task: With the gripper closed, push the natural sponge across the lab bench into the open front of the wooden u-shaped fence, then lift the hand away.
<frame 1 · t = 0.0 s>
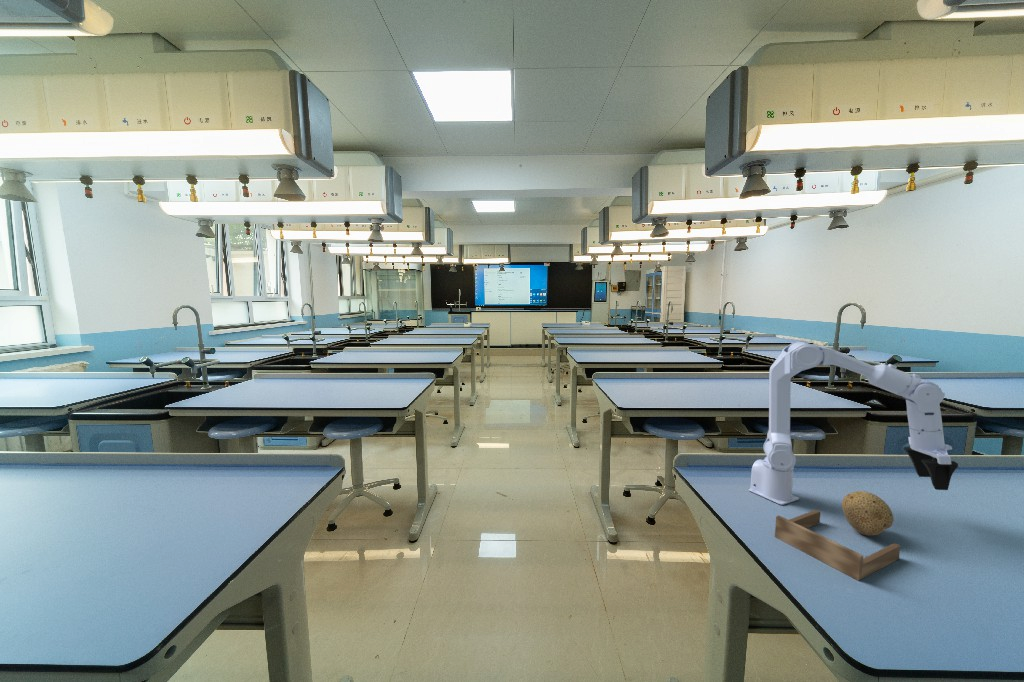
hand: (932, 482, 96), 11 cm above the lab bench, tool pointing down, fingers open, 7 cm apart
natural sponge: (865, 534, 93), on the lab bench
wooden u-shaped fence: (835, 546, 87), on the lab bench
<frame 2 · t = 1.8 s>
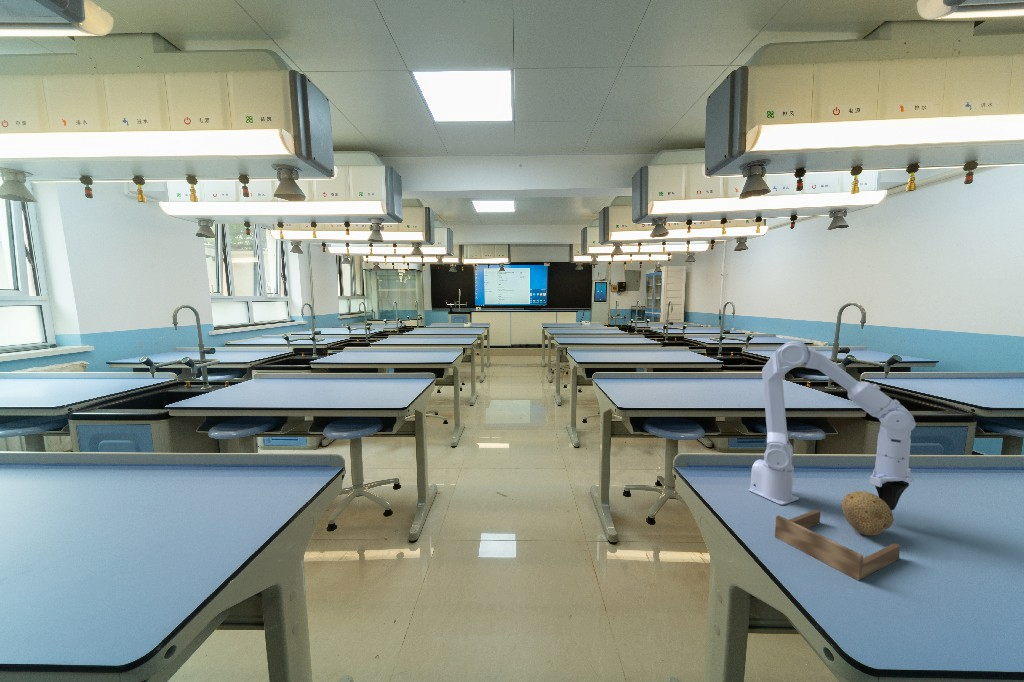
hand: (887, 508, 96), 4 cm above the lab bench, tool pointing down, fingers closed
nothing on the lab bench moved.
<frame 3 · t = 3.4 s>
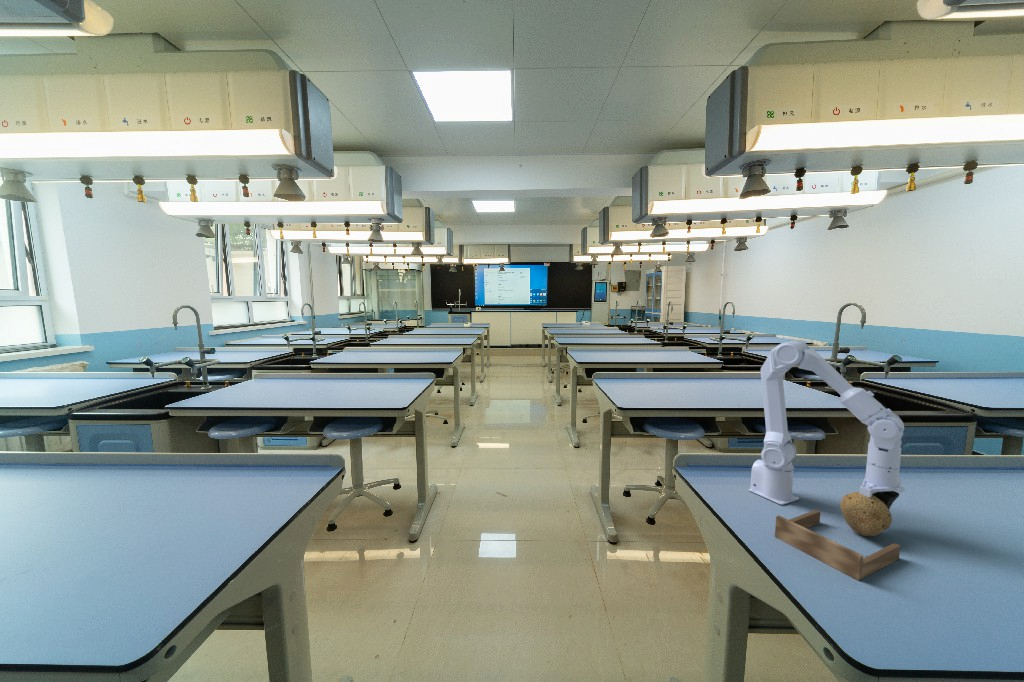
hand: (877, 518, 95), 2 cm above the lab bench, tool pointing down, fingers closed
natural sponge: (863, 534, 92), on the lab bench, touching gripper
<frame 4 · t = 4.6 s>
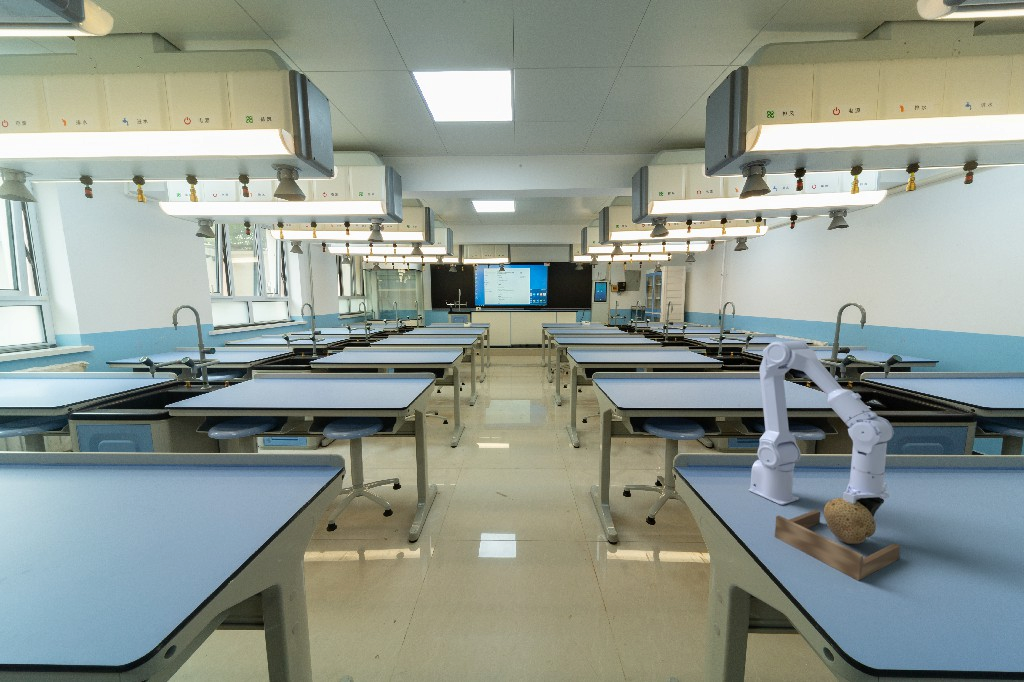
hand: (862, 525, 92), 2 cm above the lab bench, tool pointing down, fingers closed
natural sponge: (847, 542, 89), on the lab bench, touching gripper
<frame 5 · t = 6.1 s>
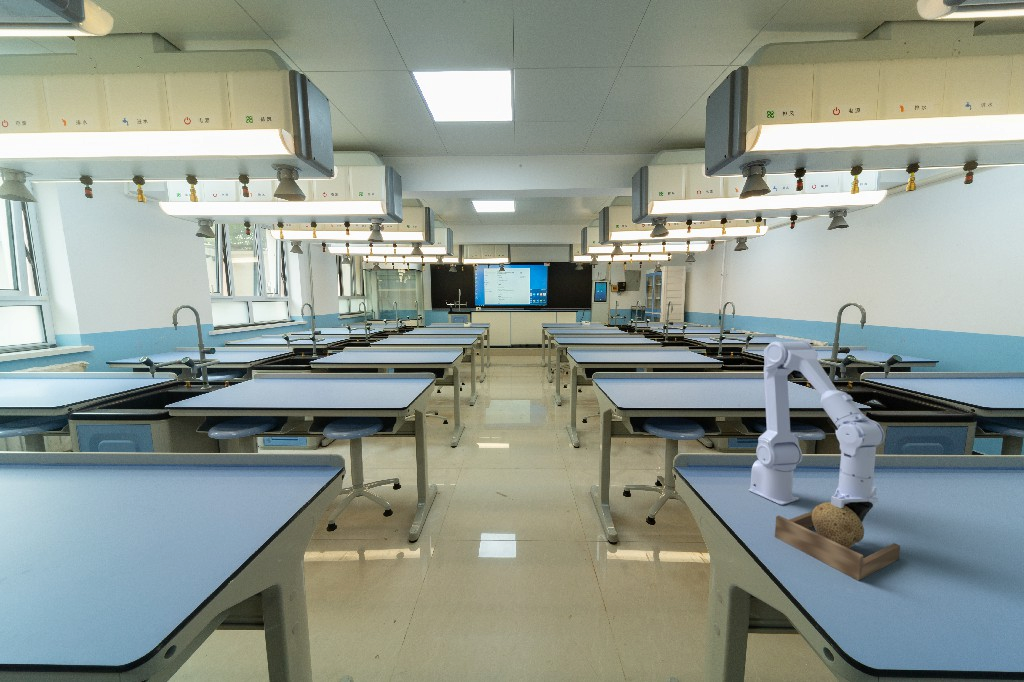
hand: (851, 530, 90), 2 cm above the lab bench, tool pointing down, fingers closed
natural sponge: (835, 547, 87), on the lab bench, touching gripper
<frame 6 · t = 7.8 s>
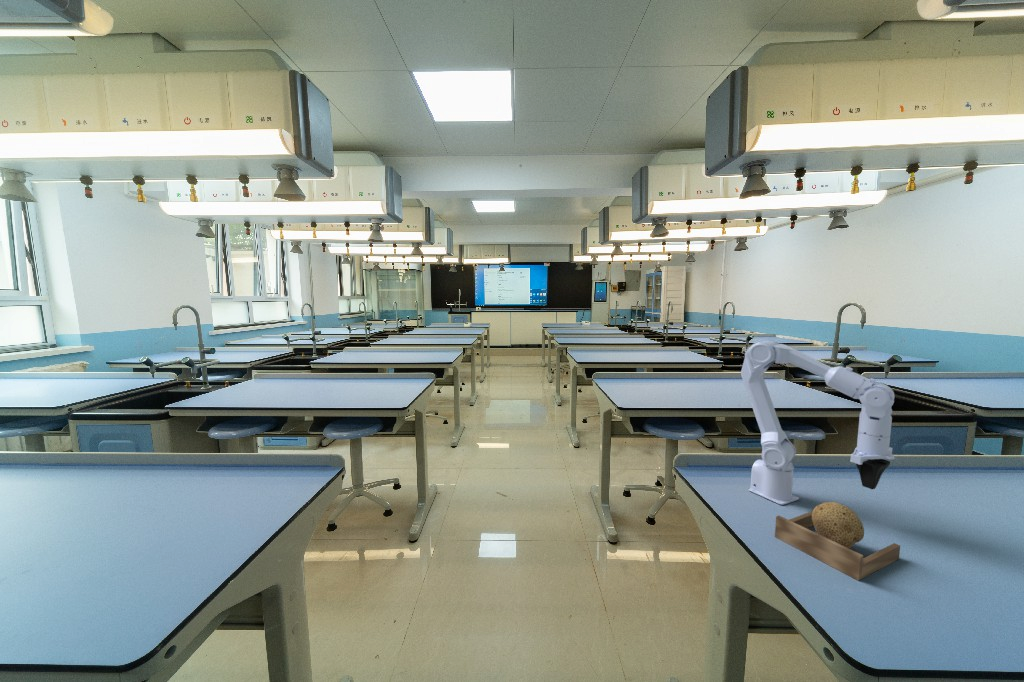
hand: (868, 487, 96), 9 cm above the lab bench, tool pointing down, fingers closed
natural sponge: (835, 547, 87), on the lab bench
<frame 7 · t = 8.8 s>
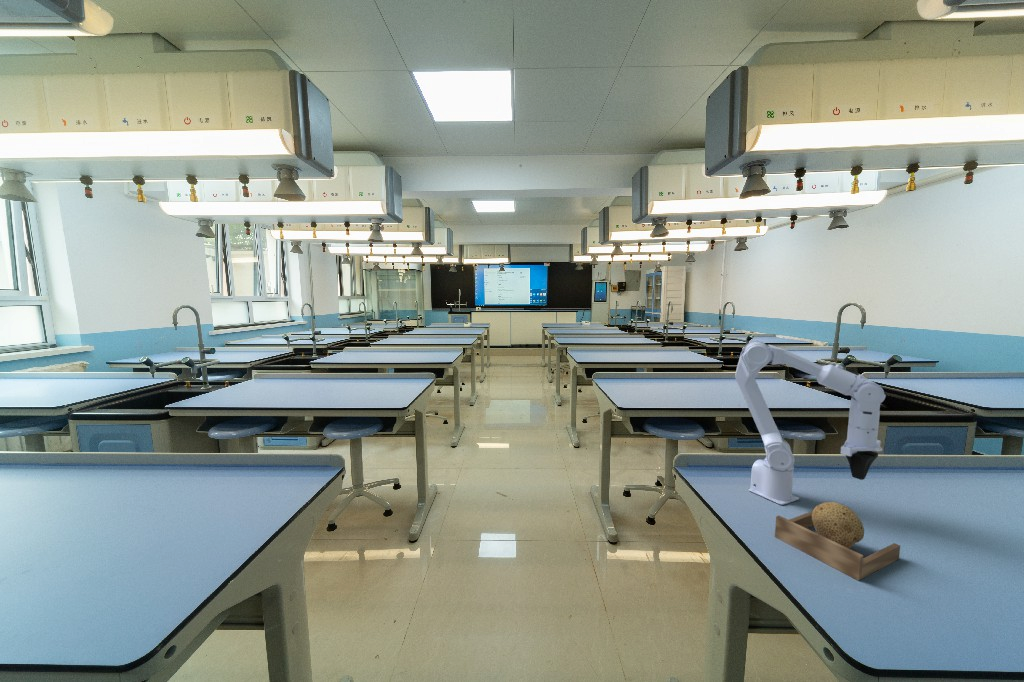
hand: (858, 478, 101), 9 cm above the lab bench, tool pointing down, fingers closed
nothing on the lab bench moved.
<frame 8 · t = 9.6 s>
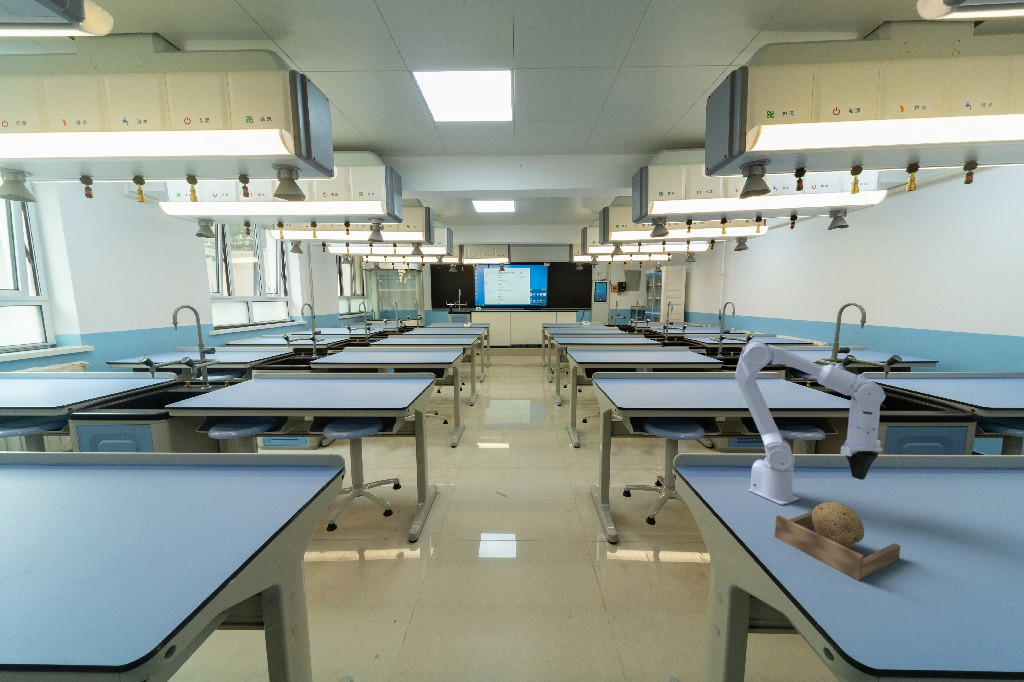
hand: (858, 478, 101), 9 cm above the lab bench, tool pointing down, fingers closed
nothing on the lab bench moved.
at the end: natural sponge inside the target area (0.6 cm from its centre), on the lab bench; natural sponge tilted 0° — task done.
